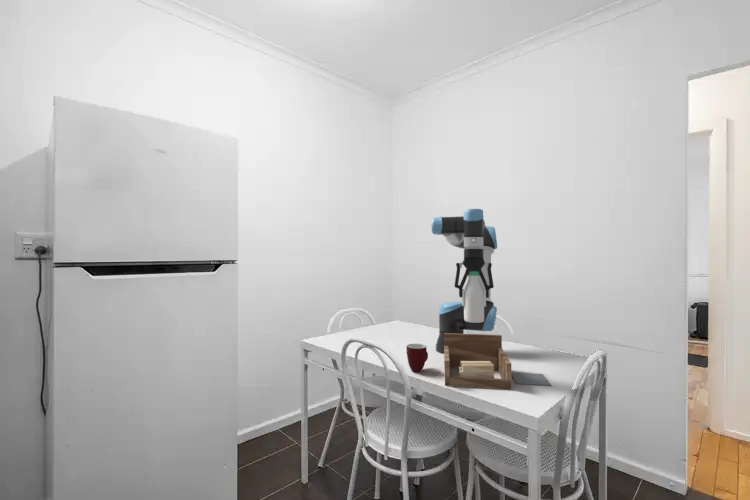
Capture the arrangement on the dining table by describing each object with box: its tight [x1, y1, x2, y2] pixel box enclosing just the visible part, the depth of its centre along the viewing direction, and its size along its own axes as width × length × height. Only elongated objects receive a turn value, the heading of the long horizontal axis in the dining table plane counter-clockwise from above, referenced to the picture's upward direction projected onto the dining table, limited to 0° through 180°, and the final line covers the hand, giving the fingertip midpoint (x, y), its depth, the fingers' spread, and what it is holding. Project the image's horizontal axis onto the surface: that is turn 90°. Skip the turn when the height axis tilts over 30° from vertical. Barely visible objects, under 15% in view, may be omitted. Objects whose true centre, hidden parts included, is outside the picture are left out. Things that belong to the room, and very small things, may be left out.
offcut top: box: [461, 361, 495, 373], centre depth 139 cm, size 6×11×2 cm, turn 87°
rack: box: [443, 333, 513, 390], centre depth 145 cm, size 23×23×14 cm
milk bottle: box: [464, 271, 484, 323], centre depth 149 cm, size 8×8×20 cm
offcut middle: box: [458, 367, 495, 378], centre depth 139 cm, size 6×12×2 cm, turn 81°
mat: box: [511, 371, 552, 387], centre depth 142 cm, size 12×12×1 cm
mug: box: [406, 343, 429, 373], centre depth 154 cm, size 10×8×10 cm
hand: (473, 305), depth 149 cm, fingers closed on milk bottle, 7 cm apart
